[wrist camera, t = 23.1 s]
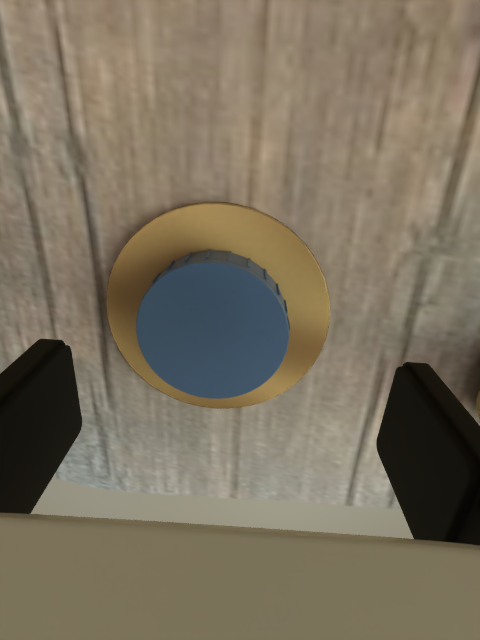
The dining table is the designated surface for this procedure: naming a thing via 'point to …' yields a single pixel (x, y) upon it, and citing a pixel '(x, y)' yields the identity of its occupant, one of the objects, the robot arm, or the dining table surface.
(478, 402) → the food
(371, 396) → the dining table surface
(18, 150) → the dining table surface
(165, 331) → the lid
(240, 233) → the coaster
